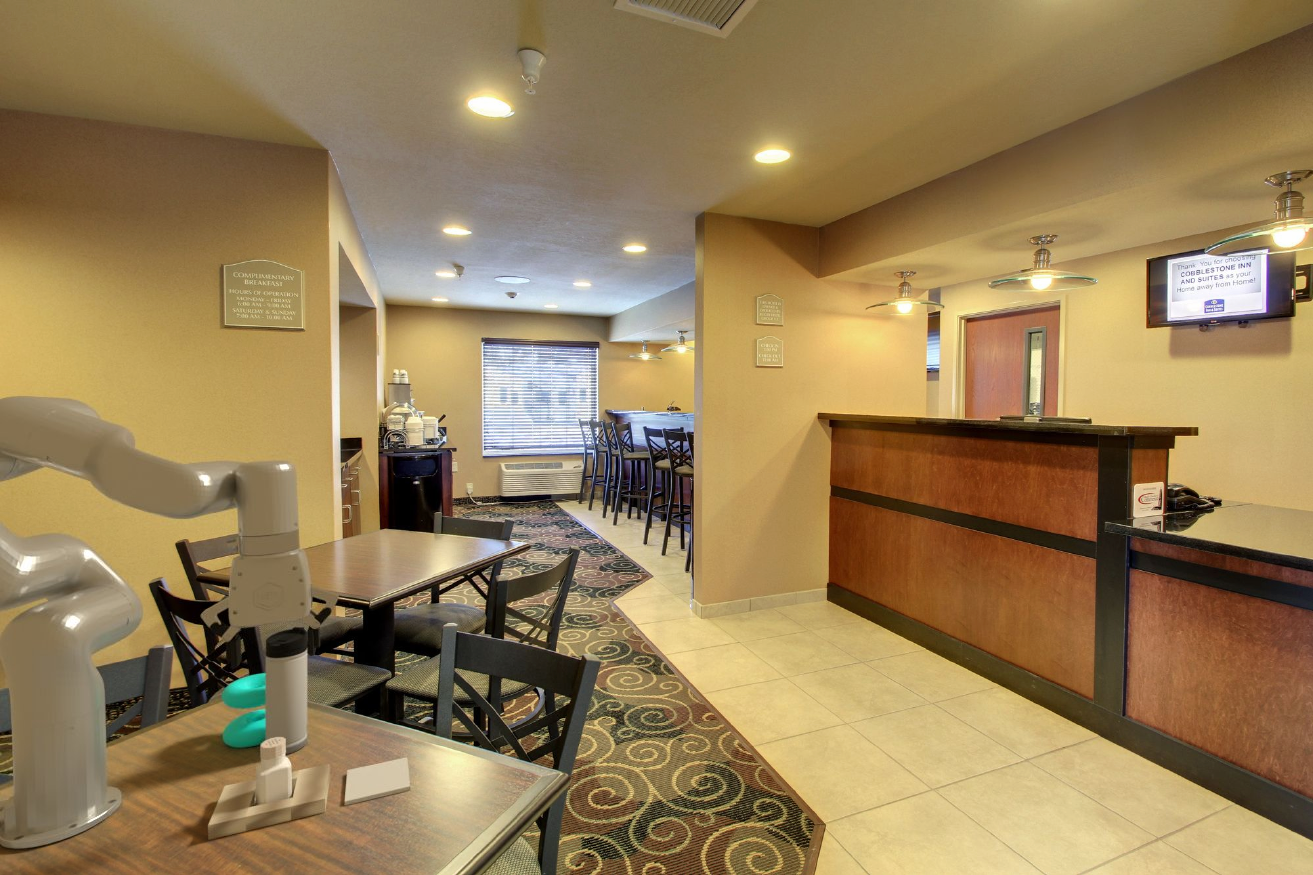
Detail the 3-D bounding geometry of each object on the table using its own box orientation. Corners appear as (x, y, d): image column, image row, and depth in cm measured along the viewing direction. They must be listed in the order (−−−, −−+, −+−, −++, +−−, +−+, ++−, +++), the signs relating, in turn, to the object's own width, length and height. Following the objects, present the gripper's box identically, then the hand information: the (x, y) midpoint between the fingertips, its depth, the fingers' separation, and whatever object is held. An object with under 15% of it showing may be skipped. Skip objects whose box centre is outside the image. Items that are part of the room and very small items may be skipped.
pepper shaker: (261, 817, 87) (260, 752, 87) (255, 805, 90) (254, 742, 90) (293, 805, 90) (291, 742, 90) (286, 793, 93) (285, 732, 92)
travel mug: (316, 737, 109) (316, 627, 109) (290, 757, 103) (290, 639, 103) (284, 735, 110) (284, 625, 110) (256, 754, 103) (256, 638, 103)
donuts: (265, 666, 116) (299, 675, 112) (266, 718, 117) (300, 729, 112) (209, 687, 107) (243, 698, 103) (210, 743, 108) (244, 756, 103)
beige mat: (344, 805, 90) (344, 801, 90) (347, 773, 98) (347, 770, 98) (410, 789, 94) (410, 786, 94) (407, 760, 102) (407, 757, 102)
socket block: (208, 839, 82) (207, 825, 82) (225, 798, 91) (224, 785, 91) (325, 812, 88) (324, 798, 88) (330, 775, 97) (329, 763, 97)
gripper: (190, 556, 83) (196, 680, 83) (333, 542, 90) (338, 656, 90) (205, 546, 89) (211, 661, 90) (337, 534, 97) (342, 640, 97)
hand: (275, 658), depth 90 cm, fingers open, 9 cm apart
